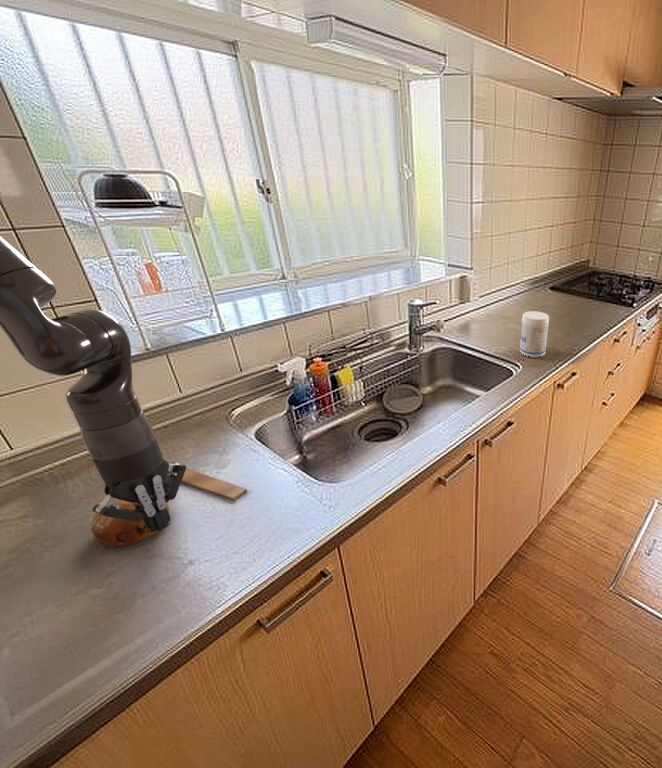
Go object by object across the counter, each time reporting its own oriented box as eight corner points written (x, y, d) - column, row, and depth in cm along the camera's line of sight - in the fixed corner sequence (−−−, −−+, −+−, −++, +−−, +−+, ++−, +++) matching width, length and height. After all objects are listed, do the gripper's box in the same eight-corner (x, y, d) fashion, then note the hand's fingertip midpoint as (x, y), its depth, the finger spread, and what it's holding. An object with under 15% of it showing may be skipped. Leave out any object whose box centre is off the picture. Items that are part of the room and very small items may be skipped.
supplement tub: (515, 350, 156) (517, 312, 149) (537, 347, 160) (540, 309, 153) (527, 360, 148) (530, 320, 141) (550, 356, 152) (554, 317, 145)
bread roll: (166, 516, 80) (144, 480, 79) (185, 518, 75) (162, 479, 73) (101, 552, 73) (74, 513, 71) (117, 557, 67) (89, 515, 65)
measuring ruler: (145, 469, 87) (144, 467, 86) (160, 461, 89) (159, 459, 89) (233, 500, 80) (232, 498, 80) (247, 491, 83) (246, 488, 82)
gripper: (151, 417, 70) (183, 496, 78) (52, 461, 59) (100, 549, 67) (184, 426, 68) (213, 507, 76) (87, 475, 57) (133, 564, 65)
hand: (160, 527), depth 71 cm, fingers closed
